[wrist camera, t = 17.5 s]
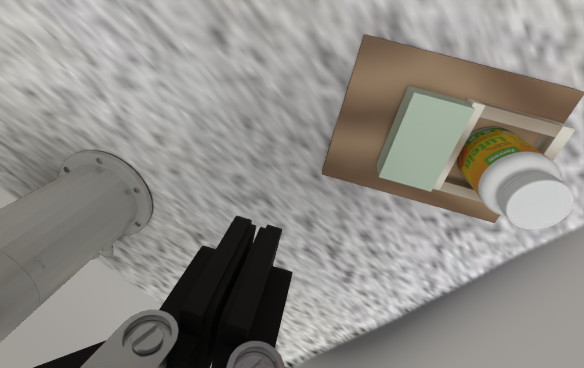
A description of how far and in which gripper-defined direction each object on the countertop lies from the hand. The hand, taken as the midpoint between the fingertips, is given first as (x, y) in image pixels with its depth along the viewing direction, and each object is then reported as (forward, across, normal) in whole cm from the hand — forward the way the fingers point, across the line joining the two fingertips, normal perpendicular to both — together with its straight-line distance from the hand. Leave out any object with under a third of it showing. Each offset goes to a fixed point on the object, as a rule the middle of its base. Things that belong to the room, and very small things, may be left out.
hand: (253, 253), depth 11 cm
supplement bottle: (+22, -17, 0) cm, 28 cm away
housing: (+22, -10, 0) cm, 24 cm away
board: (+23, -12, 0) cm, 26 cm away
